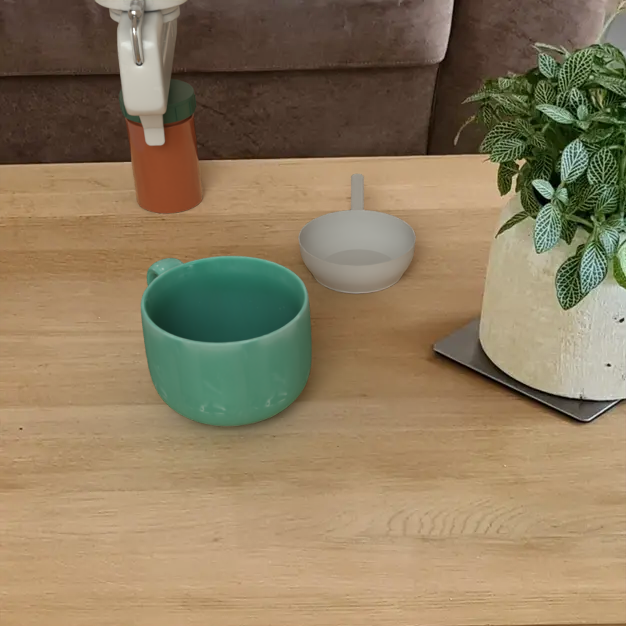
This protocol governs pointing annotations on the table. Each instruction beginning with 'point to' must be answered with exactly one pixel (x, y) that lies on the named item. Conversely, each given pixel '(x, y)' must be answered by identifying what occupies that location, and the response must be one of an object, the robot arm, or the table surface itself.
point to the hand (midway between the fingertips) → (158, 123)
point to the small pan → (357, 246)
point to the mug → (226, 337)
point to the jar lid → (171, 103)
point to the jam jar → (166, 167)
